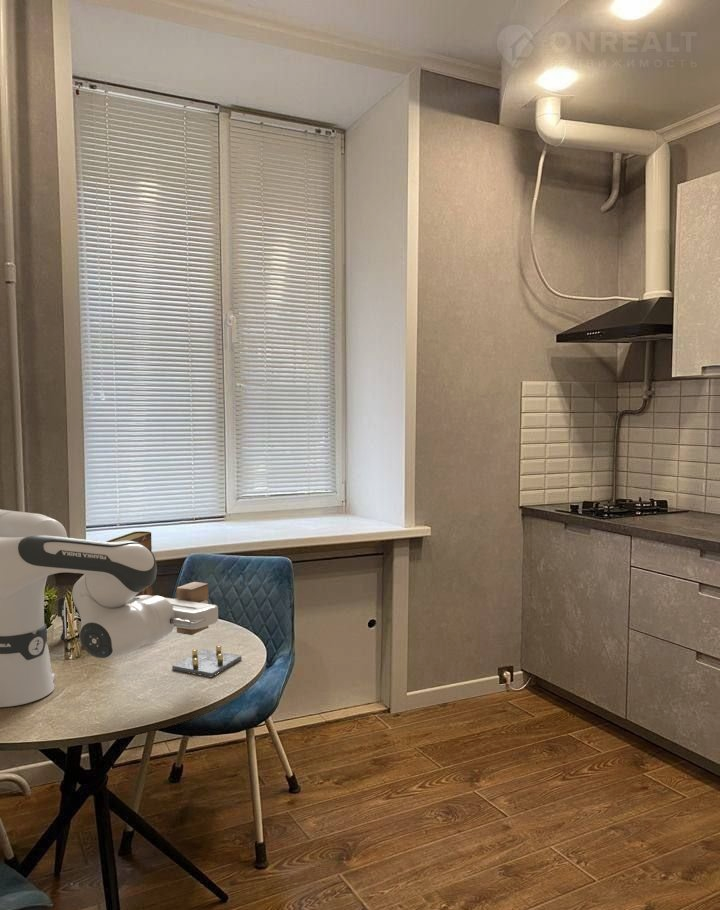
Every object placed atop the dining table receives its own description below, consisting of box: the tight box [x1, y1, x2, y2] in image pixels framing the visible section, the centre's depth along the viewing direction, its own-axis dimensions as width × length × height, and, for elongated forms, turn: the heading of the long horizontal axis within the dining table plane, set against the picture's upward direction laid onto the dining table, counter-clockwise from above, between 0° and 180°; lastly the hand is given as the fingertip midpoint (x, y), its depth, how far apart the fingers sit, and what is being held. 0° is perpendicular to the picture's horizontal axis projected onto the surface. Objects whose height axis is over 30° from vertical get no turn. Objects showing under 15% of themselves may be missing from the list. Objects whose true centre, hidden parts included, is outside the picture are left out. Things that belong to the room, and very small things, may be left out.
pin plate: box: [171, 644, 242, 677], centre depth 164 cm, size 11×12×3 cm
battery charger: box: [56, 592, 72, 641], centre depth 183 cm, size 7×4×11 cm, turn 165°
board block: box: [176, 581, 210, 636], centre depth 153 cm, size 4×6×10 cm, turn 156°
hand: (195, 602), depth 154 cm, fingers closed on board block, 4 cm apart
